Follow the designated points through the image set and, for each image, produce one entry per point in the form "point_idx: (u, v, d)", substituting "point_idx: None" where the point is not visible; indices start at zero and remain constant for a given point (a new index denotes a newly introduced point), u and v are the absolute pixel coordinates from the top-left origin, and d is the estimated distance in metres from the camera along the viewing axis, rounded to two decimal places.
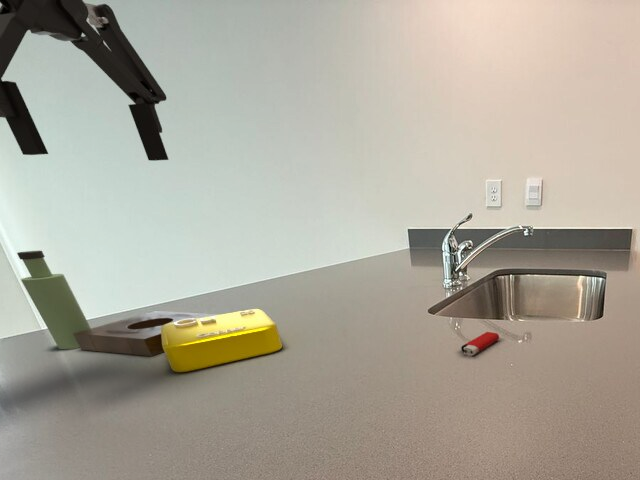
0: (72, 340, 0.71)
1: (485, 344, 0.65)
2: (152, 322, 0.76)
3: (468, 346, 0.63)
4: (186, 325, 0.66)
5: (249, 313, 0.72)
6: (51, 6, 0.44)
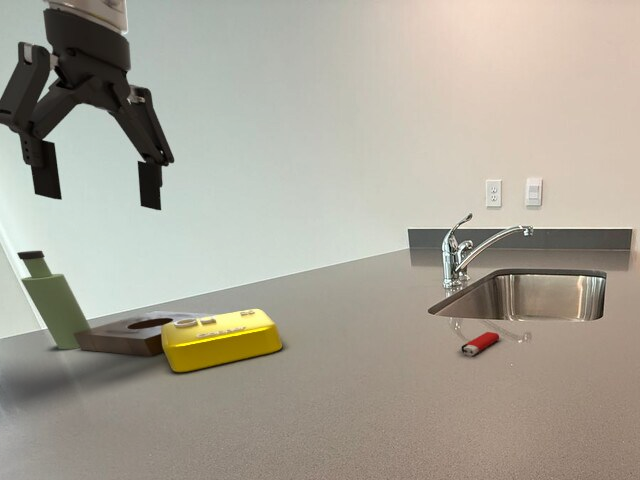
0: (72, 340, 0.71)
1: (485, 344, 0.65)
2: (152, 322, 0.76)
3: (468, 346, 0.63)
4: (186, 325, 0.66)
5: (249, 313, 0.72)
6: (103, 87, 0.53)
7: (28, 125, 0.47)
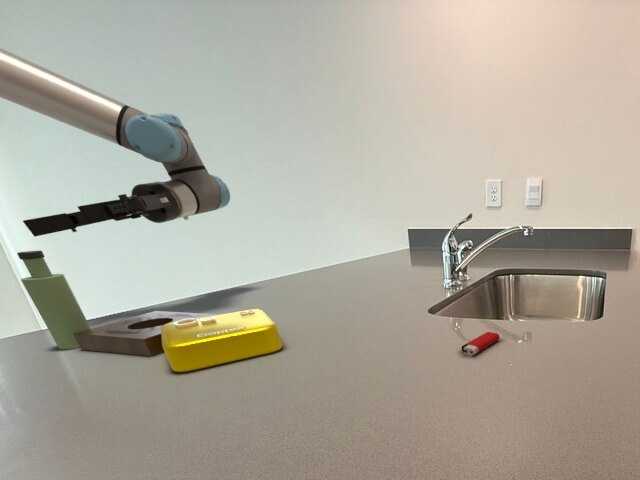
0: (72, 340, 0.71)
1: (485, 344, 0.65)
2: (152, 322, 0.76)
3: (468, 346, 0.63)
4: (186, 325, 0.66)
5: (249, 313, 0.72)
6: (137, 212, 0.82)
7: (137, 209, 0.75)
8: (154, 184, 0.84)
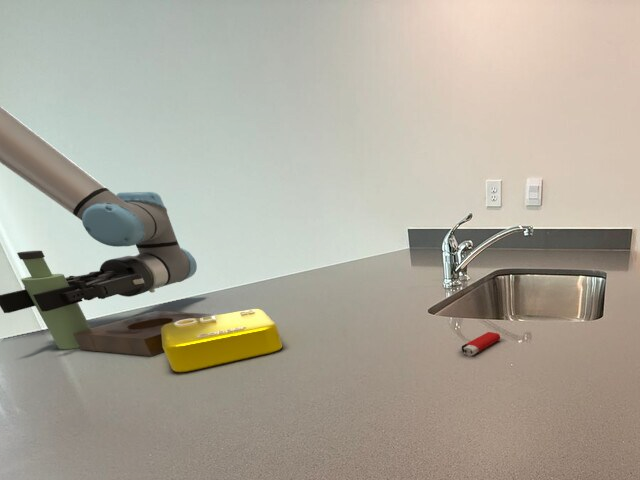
0: (72, 340, 0.71)
1: (485, 344, 0.65)
2: (152, 322, 0.76)
3: (468, 346, 0.63)
4: (186, 325, 0.66)
5: (249, 313, 0.72)
6: None
7: (94, 295, 0.72)
8: (130, 260, 0.82)
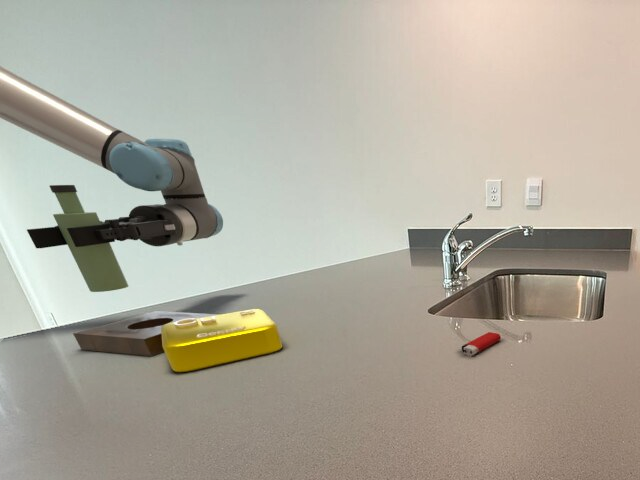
0: (105, 282, 0.68)
1: (486, 344, 0.65)
2: (152, 322, 0.76)
3: (468, 346, 0.63)
4: (186, 325, 0.66)
5: (249, 313, 0.72)
6: None
7: (126, 236, 0.69)
8: (160, 207, 0.79)
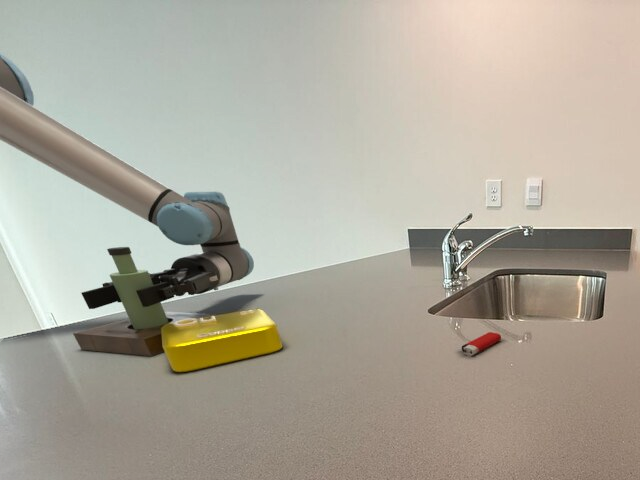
0: None
1: (486, 344, 0.65)
2: None
3: (468, 346, 0.63)
4: (186, 325, 0.66)
5: (249, 313, 0.72)
6: None
7: (184, 291, 0.74)
8: (200, 258, 0.84)
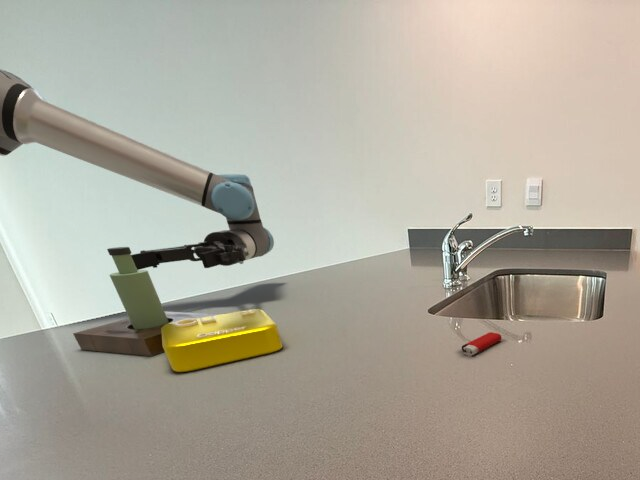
0: None
1: (486, 344, 0.65)
2: None
3: (468, 346, 0.63)
4: (186, 325, 0.66)
5: (249, 313, 0.72)
6: None
7: None
8: (229, 233, 0.94)
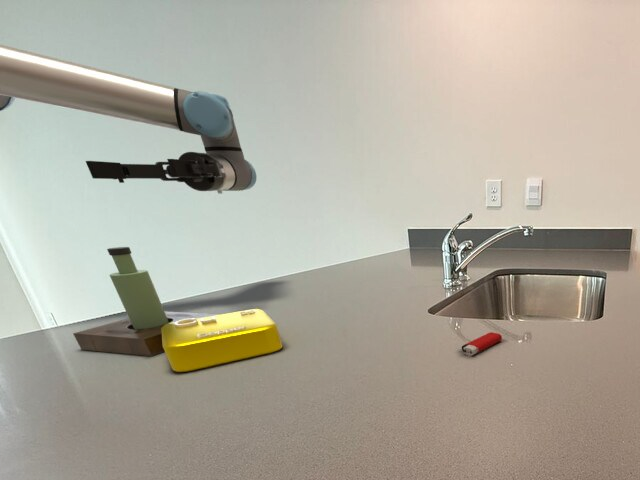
0: None
1: (486, 344, 0.65)
2: None
3: (468, 346, 0.64)
4: (186, 325, 0.66)
5: (249, 313, 0.72)
6: (187, 177, 0.84)
7: (209, 173, 0.79)
8: (205, 155, 0.87)
